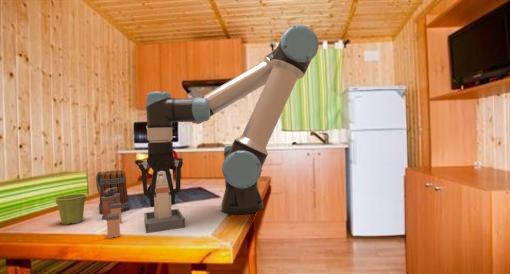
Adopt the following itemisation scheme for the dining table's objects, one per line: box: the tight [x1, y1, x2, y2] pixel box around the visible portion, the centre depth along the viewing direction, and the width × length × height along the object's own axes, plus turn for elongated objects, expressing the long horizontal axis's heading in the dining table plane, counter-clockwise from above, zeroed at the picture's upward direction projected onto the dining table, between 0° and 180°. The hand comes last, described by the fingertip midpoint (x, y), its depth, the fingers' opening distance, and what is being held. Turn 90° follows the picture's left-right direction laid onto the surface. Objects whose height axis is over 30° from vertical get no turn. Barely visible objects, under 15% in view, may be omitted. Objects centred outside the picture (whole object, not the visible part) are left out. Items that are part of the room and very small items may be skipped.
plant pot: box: [54, 193, 88, 225], centre depth 103 cm, size 9×9×9 cm
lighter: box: [101, 187, 120, 221], centre depth 109 cm, size 8×3×10 cm, turn 168°
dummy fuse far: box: [110, 203, 123, 224], centre depth 101 cm, size 3×3×6 cm
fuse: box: [155, 184, 170, 219], centre depth 97 cm, size 4×4×10 cm
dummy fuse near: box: [105, 213, 121, 239], centre depth 87 cm, size 3×3×6 cm
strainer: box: [155, 169, 174, 193], centre depth 124 cm, size 7×7×15 cm
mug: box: [95, 169, 130, 215], centre depth 119 cm, size 16×11×15 cm
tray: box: [143, 208, 186, 234], centre depth 97 cm, size 11×14×3 cm
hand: (163, 215), depth 97 cm, fingers closed on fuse, 4 cm apart
